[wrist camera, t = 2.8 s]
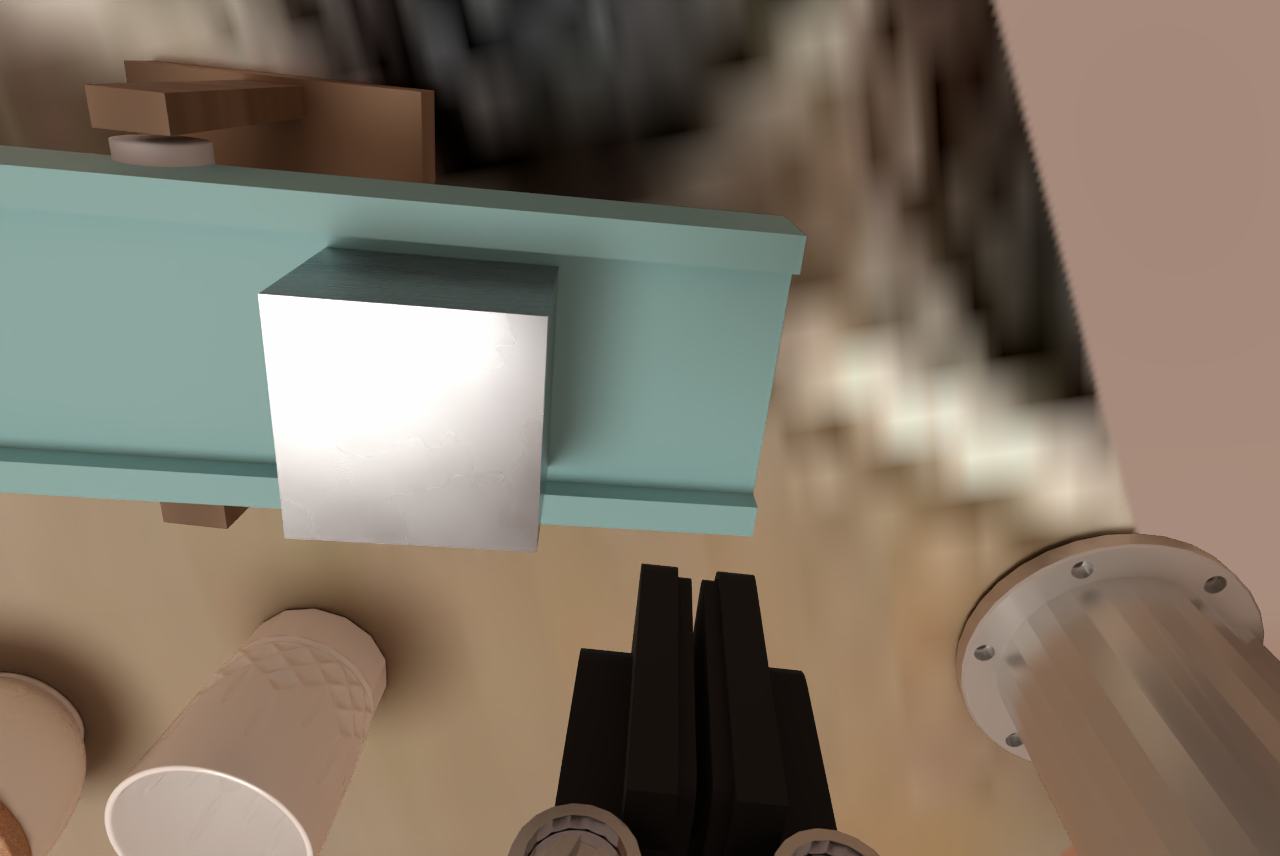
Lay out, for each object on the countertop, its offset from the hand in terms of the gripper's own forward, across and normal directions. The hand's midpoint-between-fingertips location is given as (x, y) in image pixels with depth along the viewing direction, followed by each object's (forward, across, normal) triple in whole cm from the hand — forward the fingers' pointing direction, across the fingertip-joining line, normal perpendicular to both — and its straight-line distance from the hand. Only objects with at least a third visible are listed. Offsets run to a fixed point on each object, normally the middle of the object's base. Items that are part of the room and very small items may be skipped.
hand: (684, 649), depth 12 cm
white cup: (+20, +15, +20) cm, 33 cm away
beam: (+14, +15, 0) cm, 20 cm away
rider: (+11, +7, 0) cm, 13 cm away
